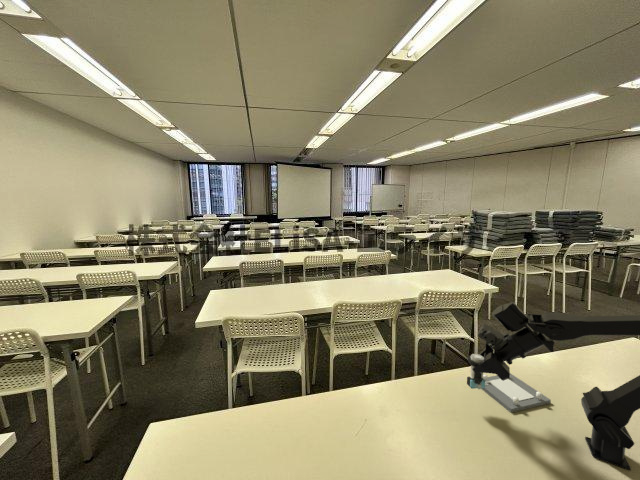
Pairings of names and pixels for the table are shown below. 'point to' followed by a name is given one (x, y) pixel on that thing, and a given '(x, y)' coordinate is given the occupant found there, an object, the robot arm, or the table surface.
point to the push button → (475, 373)
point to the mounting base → (513, 393)
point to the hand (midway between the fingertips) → (474, 365)
